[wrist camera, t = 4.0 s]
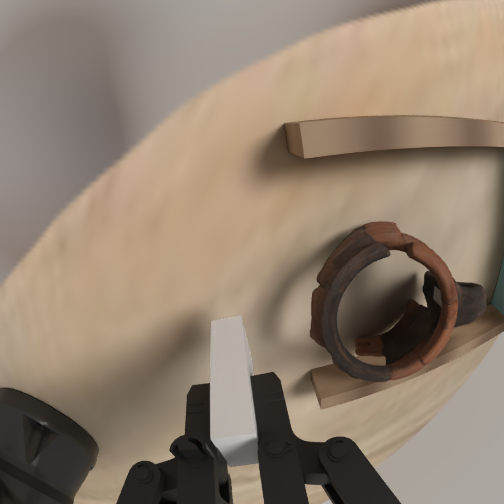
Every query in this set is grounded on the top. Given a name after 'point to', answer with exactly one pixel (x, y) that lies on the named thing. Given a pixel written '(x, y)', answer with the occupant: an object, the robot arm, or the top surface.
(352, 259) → the pottery mug
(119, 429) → the top surface
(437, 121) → the channel
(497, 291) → the end stop
